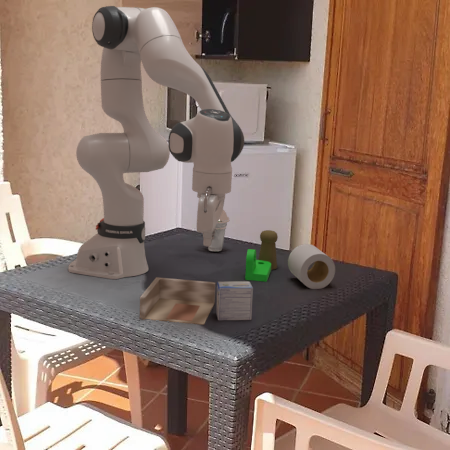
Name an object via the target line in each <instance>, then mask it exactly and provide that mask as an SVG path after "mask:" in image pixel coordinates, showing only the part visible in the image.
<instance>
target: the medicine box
mask: <svg viewBox="0 0 450 450" xmlns="http://www.w3.org/2000/svg"><path fill="white" fill-rule="evenodd" d="M216 284H217V285H216V286H217V287H216V310H215V312H216V313H215V314H216V318H217V320H218V321H251V320H252V313H253V312H252V310H253V291H254V287H253V286H252V284H251V282H250V280H246V281H245V280H243V281H238V280H237V281H236V280H235V281H234V280H233V281H217V283H216Z"/></svg>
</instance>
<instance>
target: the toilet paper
mask: <svg viewBox="0 0 450 450" xmlns="http://www.w3.org/2000/svg"><path fill="white" fill-rule="evenodd" d="M312 264H313V265H312ZM311 265H312V267H311V268H310V269H309V267H310V266H311ZM287 266H288V270H289V271H290V272H291V274H292V275H293V276H295V278H297V279H298V280H299V281H300V282H301V283H302V284H303V285H304V286H306V287H307V288H309V289H311V290H317V289H319V290H320V289H324V288H326V287H328V285H329V284H330V283H331V282H332V281H333V279H334V277H335V273H336V265H335V262H334V261H333V259H332V258H331V257H330V256H328V255H327V254H326V253H324V252H323V251H322V250H320V249H319V248H318V247H316V246H315V245H313V244H310V243H303V244H300V245H298V246H296V247H294V249H292V251H291V252H290V254H289V255H288V258H287Z"/></svg>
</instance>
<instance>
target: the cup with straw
mask: <svg viewBox="0 0 450 450" xmlns="http://www.w3.org/2000/svg"><path fill="white" fill-rule="evenodd" d="M228 222H230V217H229V216H228V215H227V212H226V210H224V209H223V211H222V214H221V216H220V218H219V220H218V222H217V224H216V229H215V237H214V239H213V240H212V244H211V246H207V247H208V248H207V250H208V251H210V252H221V251H222V250H223V246H224V242H225V236H226V235H225V233H226V229H227V224H228Z"/></svg>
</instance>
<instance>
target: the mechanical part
mask: <svg viewBox="0 0 450 450" xmlns="http://www.w3.org/2000/svg"><path fill="white" fill-rule="evenodd" d="M271 271H272V270H271V263H270V262H268V261H262V260H258V259H257V249H250V248H248V249H247V252H246V256H245V276H244V278H245V279H244V281H245V280H246V281H253V282H254V281H255V282H265V283H267V281H268V279H269V277H270V274H271Z"/></svg>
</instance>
